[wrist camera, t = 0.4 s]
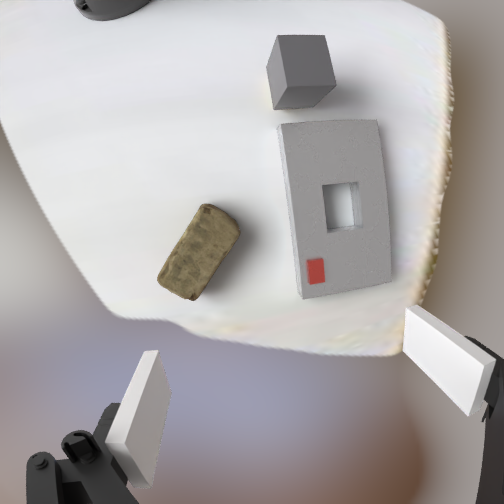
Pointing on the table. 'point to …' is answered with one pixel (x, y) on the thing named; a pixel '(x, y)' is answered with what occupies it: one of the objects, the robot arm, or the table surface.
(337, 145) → the socket plate
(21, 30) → the table surface
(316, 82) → the plug
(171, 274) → the stone block
